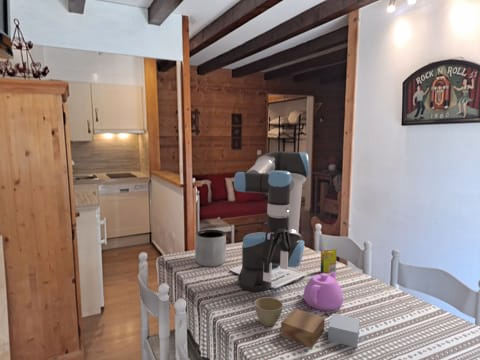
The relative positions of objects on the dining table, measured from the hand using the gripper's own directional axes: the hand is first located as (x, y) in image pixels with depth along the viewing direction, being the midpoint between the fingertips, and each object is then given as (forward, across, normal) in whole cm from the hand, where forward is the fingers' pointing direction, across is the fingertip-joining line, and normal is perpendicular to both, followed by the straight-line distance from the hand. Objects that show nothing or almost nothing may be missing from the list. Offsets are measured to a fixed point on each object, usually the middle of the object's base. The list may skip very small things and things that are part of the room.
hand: (275, 274), depth 119 cm
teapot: (+18, +24, -10) cm, 32 cm away
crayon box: (+18, +58, -2) cm, 60 cm away
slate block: (+18, +5, -24) cm, 30 cm away
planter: (+18, +34, +54) cm, 66 cm away
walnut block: (+18, -1, -11) cm, 21 cm away
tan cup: (+18, -1, +2) cm, 18 cm away
